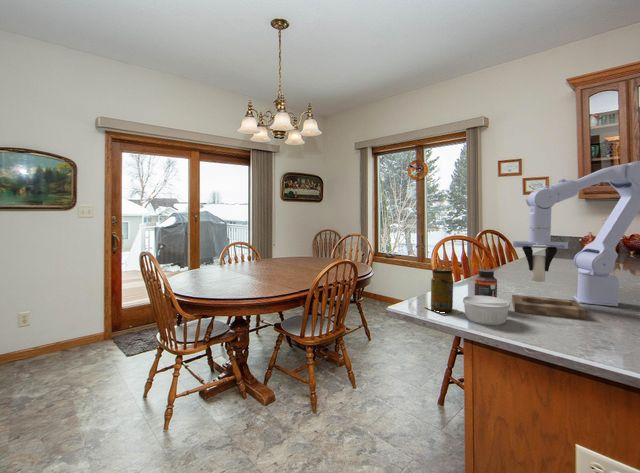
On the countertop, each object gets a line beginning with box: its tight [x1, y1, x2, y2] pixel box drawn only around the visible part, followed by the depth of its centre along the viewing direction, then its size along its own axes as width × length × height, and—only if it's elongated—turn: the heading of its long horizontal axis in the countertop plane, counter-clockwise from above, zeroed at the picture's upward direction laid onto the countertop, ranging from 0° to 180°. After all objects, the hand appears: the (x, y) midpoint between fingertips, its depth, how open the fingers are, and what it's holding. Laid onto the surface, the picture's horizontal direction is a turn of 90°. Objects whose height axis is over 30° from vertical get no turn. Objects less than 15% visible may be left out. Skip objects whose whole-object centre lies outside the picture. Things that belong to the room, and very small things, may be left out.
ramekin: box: [462, 295, 511, 326], centre depth 87 cm, size 11×11×5 cm
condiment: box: [430, 267, 465, 316], centre depth 95 cm, size 7×8×12 cm
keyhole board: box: [511, 294, 586, 320], centre depth 94 cm, size 16×11×2 cm
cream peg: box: [531, 254, 546, 283], centre depth 104 cm, size 4×4×8 cm
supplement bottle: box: [474, 268, 498, 298], centre depth 97 cm, size 6×6×11 cm
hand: (538, 270), depth 104 cm, fingers closed on cream peg, 4 cm apart
